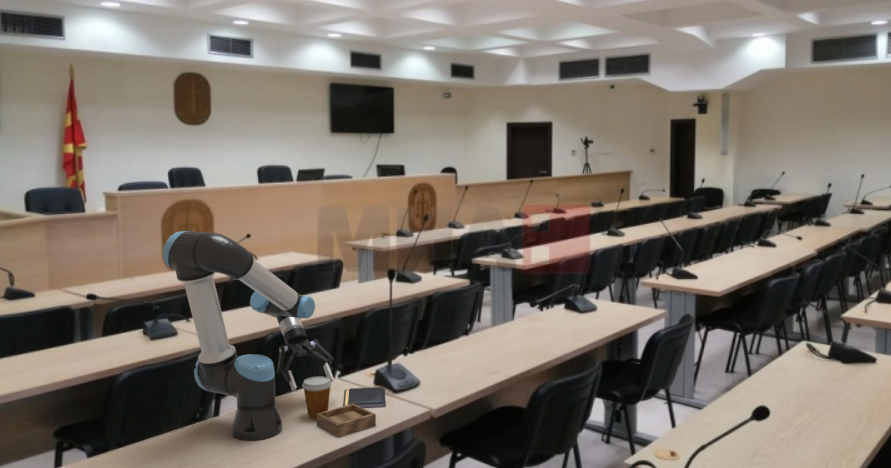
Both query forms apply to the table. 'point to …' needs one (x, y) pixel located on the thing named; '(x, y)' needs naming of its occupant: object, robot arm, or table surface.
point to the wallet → (365, 397)
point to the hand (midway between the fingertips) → (313, 385)
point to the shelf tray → (346, 420)
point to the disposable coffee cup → (316, 395)
